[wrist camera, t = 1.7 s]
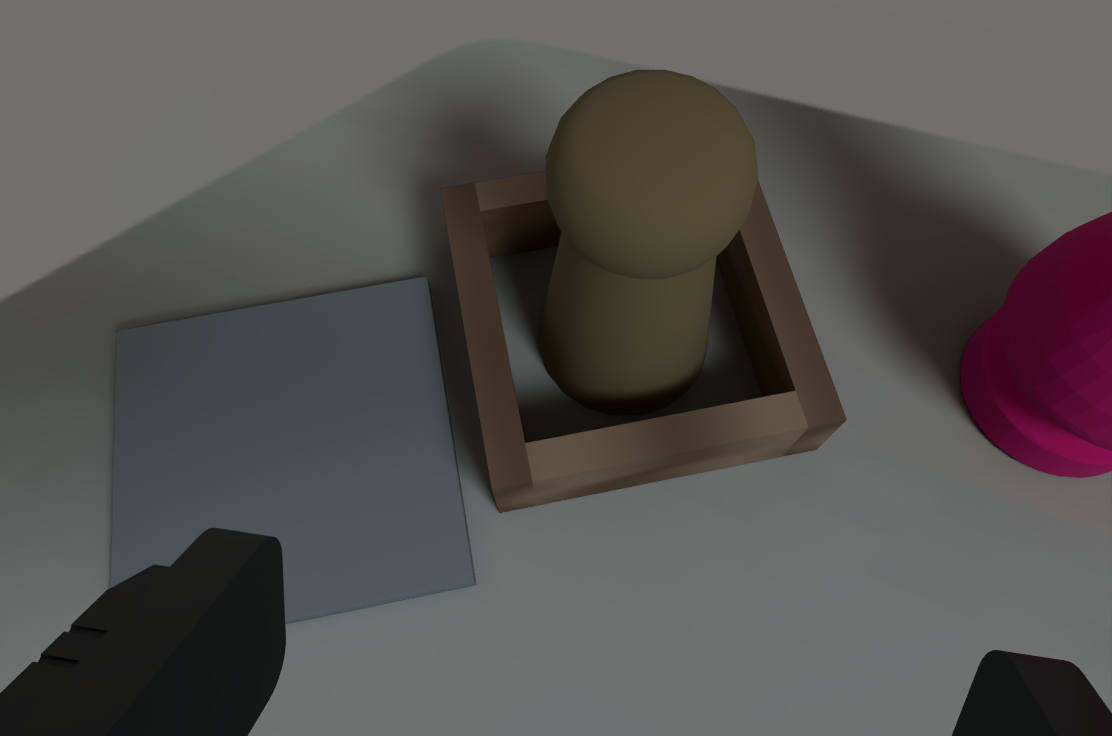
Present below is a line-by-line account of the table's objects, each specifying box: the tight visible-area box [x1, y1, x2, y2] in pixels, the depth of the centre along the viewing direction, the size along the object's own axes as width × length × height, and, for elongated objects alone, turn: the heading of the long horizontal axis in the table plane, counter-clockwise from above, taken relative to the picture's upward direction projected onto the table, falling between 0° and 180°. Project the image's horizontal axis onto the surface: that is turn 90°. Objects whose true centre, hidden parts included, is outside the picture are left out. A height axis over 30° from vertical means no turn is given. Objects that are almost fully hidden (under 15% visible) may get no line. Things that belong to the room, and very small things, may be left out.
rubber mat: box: [110, 276, 476, 624], centre depth 26 cm, size 11×11×1 cm
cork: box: [539, 70, 758, 415], centre depth 23 cm, size 6×6×11 cm
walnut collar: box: [440, 171, 847, 513], centre depth 26 cm, size 11×11×3 cm
